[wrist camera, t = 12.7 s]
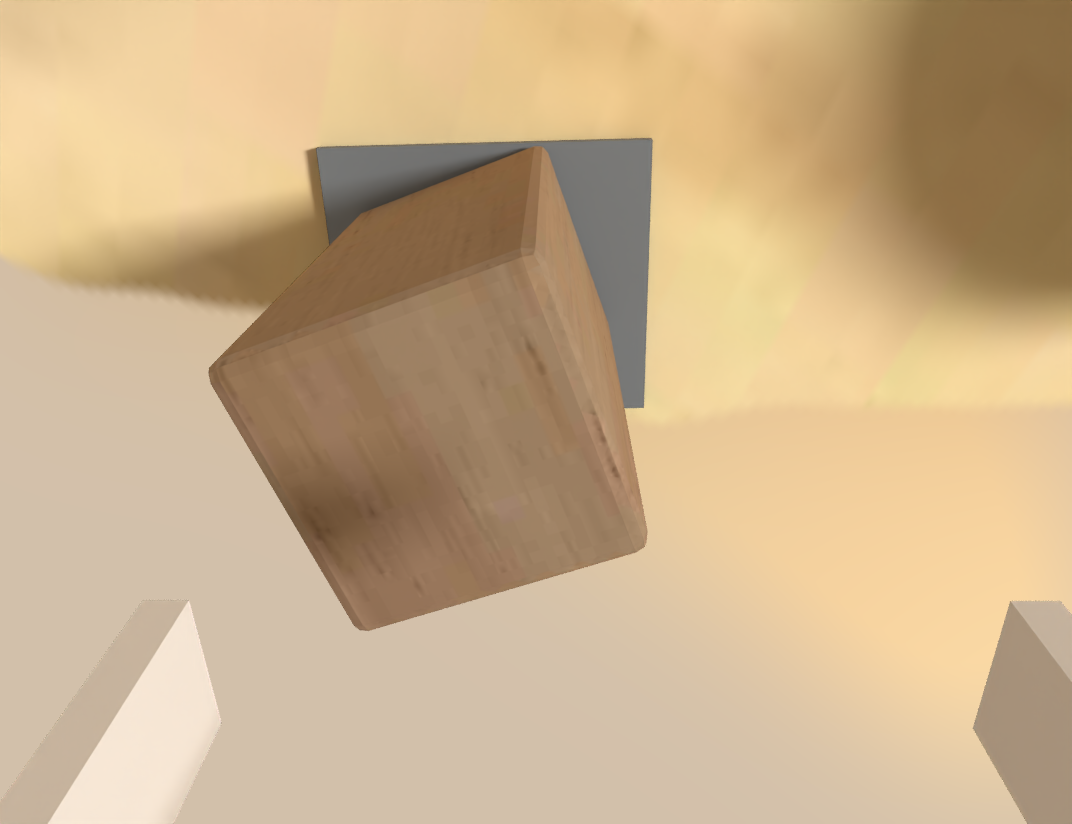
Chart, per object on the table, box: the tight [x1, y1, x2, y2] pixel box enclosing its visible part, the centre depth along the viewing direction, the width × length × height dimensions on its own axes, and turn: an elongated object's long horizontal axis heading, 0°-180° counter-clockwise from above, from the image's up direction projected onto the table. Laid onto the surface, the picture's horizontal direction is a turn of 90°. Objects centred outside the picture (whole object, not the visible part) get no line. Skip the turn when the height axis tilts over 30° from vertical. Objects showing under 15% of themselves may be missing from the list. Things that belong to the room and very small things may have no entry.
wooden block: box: [209, 146, 647, 631], centre depth 32 cm, size 10×10×20 cm
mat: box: [316, 138, 652, 408], centre depth 42 cm, size 14×16×1 cm
